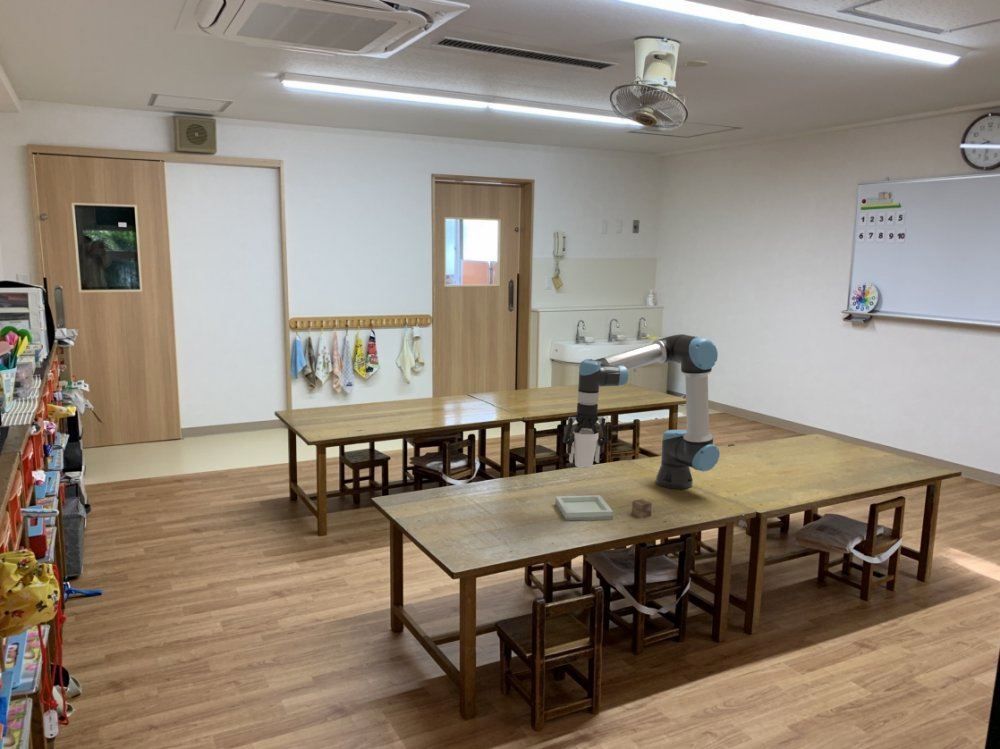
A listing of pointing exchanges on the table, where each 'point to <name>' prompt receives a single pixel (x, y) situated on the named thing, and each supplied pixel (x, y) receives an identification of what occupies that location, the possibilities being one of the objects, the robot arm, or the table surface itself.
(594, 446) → the foam cup
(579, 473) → the table surface
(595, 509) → the tray
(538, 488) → the table surface
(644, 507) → the walnut block
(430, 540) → the table surface
